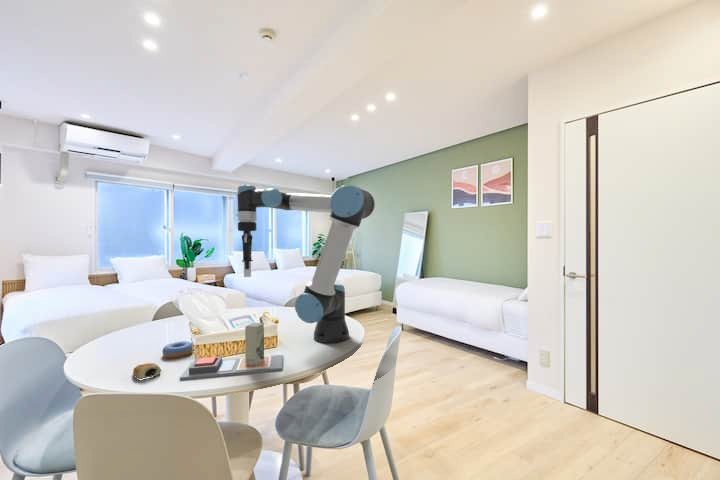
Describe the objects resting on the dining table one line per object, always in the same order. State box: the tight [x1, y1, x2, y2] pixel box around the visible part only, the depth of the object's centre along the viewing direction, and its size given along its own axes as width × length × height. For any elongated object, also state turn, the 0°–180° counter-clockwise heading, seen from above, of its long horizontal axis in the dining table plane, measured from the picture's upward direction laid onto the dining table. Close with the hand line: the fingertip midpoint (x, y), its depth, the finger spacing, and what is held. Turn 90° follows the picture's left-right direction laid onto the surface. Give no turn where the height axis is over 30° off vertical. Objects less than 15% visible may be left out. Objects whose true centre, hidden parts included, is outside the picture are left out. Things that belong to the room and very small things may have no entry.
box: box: [244, 322, 265, 366], centre depth 105 cm, size 5×4×13 cm
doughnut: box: [162, 341, 194, 360], centre depth 117 cm, size 10×10×5 cm
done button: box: [196, 356, 217, 366], centre depth 102 cm, size 5×5×2 cm
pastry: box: [133, 362, 162, 379], centre depth 99 cm, size 9×7×4 cm
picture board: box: [179, 354, 284, 381], centre depth 104 cm, size 30×12×3 cm, turn 103°
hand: (247, 276), depth 135 cm, fingers closed
